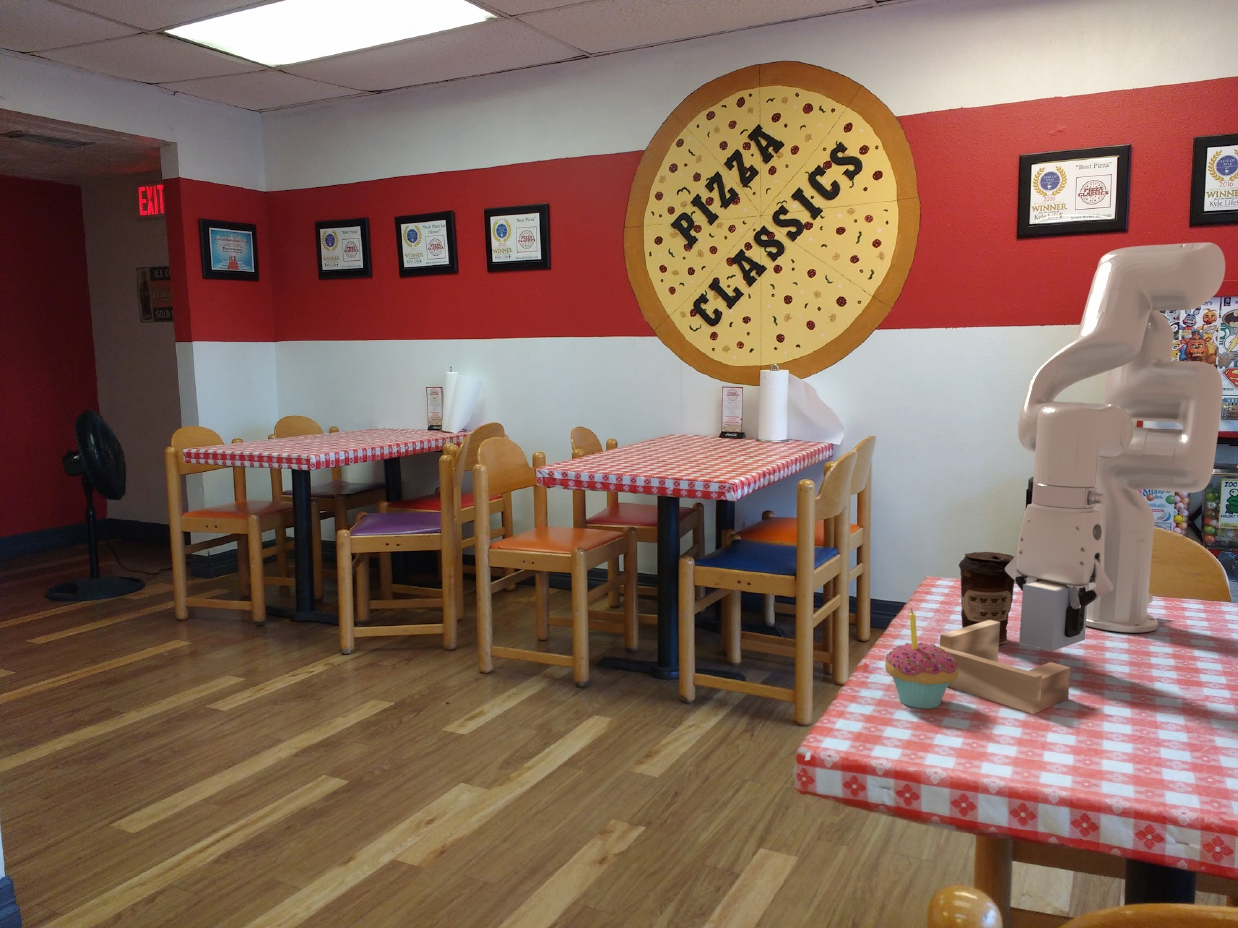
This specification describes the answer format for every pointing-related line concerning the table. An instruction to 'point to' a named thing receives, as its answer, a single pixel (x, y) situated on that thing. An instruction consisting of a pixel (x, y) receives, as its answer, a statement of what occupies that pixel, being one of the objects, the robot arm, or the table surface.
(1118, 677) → the table surface
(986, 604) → the coffee cup
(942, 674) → the cupcake
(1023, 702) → the rack
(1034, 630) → the grey rectangular block
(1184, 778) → the table surface
